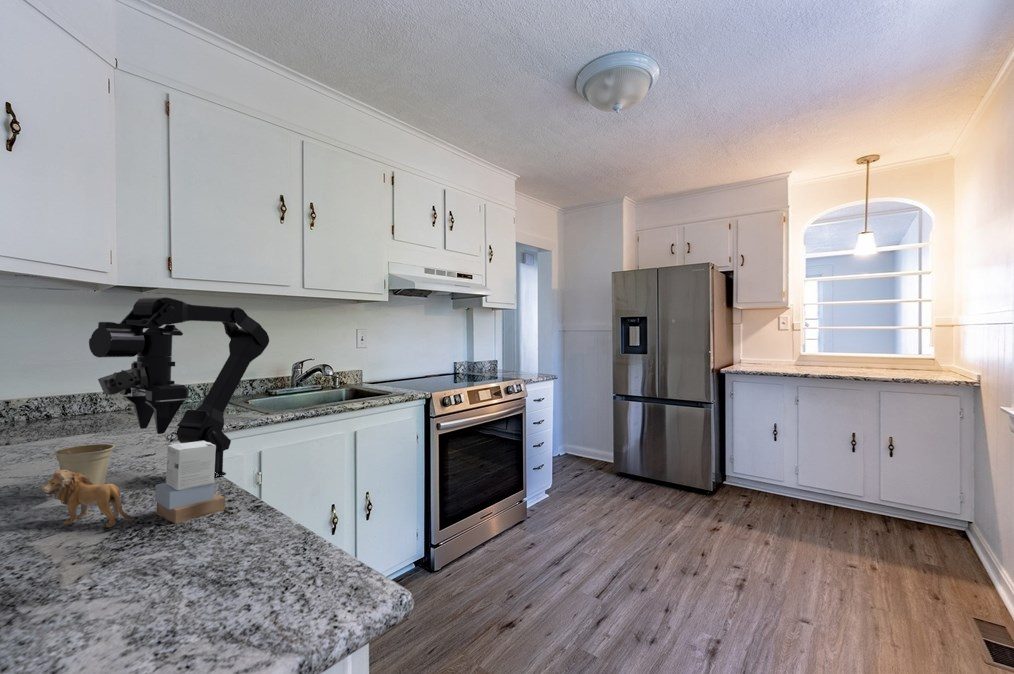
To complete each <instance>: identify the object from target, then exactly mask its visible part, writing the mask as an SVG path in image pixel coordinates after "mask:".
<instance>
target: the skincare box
mask: <svg viewBox="0 0 1014 674" xmlns="http://www.w3.org/2000/svg"><path fill="white" fill-rule="evenodd" d="M215 451H216V445H214V444H211V443H210V442H206V441H197V442H189V443H180V442H179V443H173V444H168V445H167V457H166V472H165V474H166V475H165V483H166V484H167V485H169V486H171V487H172V488H174V489H175V490H184V489H189V488H194V487H198V486H203V485H208V484H213V483H215V477H214V471H215Z"/></svg>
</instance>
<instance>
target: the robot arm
mask: <svg viewBox="0 0 1014 674" xmlns="http://www.w3.org/2000/svg"><path fill="white" fill-rule="evenodd" d="M189 321H190V322H212V323H213V322H214V323H222V325H223V326H224V332H225V335H226V336H227V337H229V339H230V341H229V343H228V350H229V351H228V352H229V355H228V357H227V359H226V361H225V362H224V365H223V366H222V368H221V370H220V372H219V373H218V375H217V377H216V378H215V381H214V382H213V384H212V386H211V388H210V390H209V391H208V393H207V394H206V396H205V397H204V399H203V401H202V404H200V406H199V407H197V408H196V409H187V410H186V411H185V412H184V414H183V416H182V417H181V420H180V422H178V423H177V424H176V426H177V430H176V434H175V436H177V440H178V442H179V444H180V443H189V442H197V441H206V442H210V443H211V444H214V445H216V451H215V471H214V478H217V477H216V473H218V474H219V475H221V476H220V477H222V476H223V477H224V476H226V475H227V472H225V471H224V466H223V465H224V451H227V450H229V449H230V445H231V442H232V440H231V439H230V438H229V437H228V436H227V435H226V434H225V433H224V432H223V429H224V426H225V419H224V412H225V410H226V408H227V406H228V404H229V403H230V401H231V399H232V398H233V395H234V394H235V391H236V390H237V388H238V386H239V384H240V382H241V380H242V378H243V377H244V374H245V373H246V372H247V369H248V367H249V365H250V364H251V363H252V362H253V361H254V360H255V359H257V358H258V357H260V356H261V355H263V353H264V351H265V350H266V348H267V347H268V346H269V343H270V337H269V335H268V331H267V330H266V329H264V328H263V326H262V325H261V324H260V323H259V322H258V321H256V320H255V319H254V318H252V317H251V316H249V315H248V314H247V313H246V312H245V310H244V309H243V308H240V307H238V306H235V307H234V306H232V307H231V306H226V307H225V306H224V307H223V306H212V305H211V306H210V305H199V304H190V303H186V302H185V301H182V300H179V299H176V298H172V297H165V296H164V297H161V296H160V297H141V298H138V300H137V301H136V302H135V303H134V305H133V307H132V310H131V311H130V312H129V313H128V314H127V315H126V316H125V317H124V318H123V319H122V320H121V321H120V322H118V323H117V322H113V321H98V325H97V328H96V329H95V330H94V331H93V332H92V333H91V335H90V338H89V340H88V346H89V350H90V352H91V354H92V355H93V356H94V357H96V358H134V357H136V361H132V363H131V365H130V369H126V370H125V369H122V370H121V371H118V372H116V371H115V372H113V374H108V375H106V376H103V377H100V378H98V379H97V381H98V383H99V385H100V387H101V390H102V392H103V394H104V395H106V394H107V395H108V396H111V395H113V396H114V395H117V394H119V395H122V396H121V397H122V398H123V399H125V400H126V401H128V402H129V403H130V404H132V406H133V409H134V412H135V416H136V419H137V422H138V426H139V428H140V429H141V430H142V429H147V428H148V426H149V424H150V422H151V419H152V417H153V415H154V423H155V429H156V434H158V435H162V434H165V433H166V431H167V429H168V427H169V426H170V424H171V422H172V421H173V419H174V418H175V416H176V414H177V413H178V411H179V409H180V408H181V406H182V405H183V403H185V402H186V400H187V399H189V394H190V393H189V392H190V389H189V388H188V387H187V386H186V385H185V384H179V383H175V380H172V367H176V361H173V360H172V359H173V357H172V356H173V337H175V336H176V337H179V336H180V337H181V336H183V335H184V333H183V332H182V331H181V330H180V329H179V328H178V327H176V325H175V324H181V323H185V322H189ZM163 325H165V326H163ZM162 326H163V327H162ZM239 327H240V328H239ZM144 329H146V330H145V331H144ZM215 472H216V473H215Z"/></svg>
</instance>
